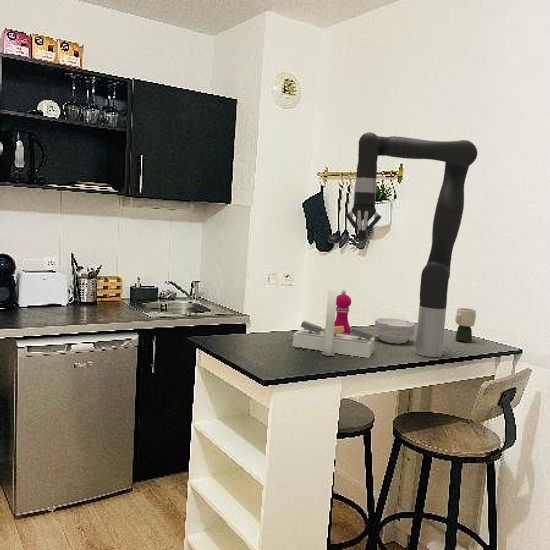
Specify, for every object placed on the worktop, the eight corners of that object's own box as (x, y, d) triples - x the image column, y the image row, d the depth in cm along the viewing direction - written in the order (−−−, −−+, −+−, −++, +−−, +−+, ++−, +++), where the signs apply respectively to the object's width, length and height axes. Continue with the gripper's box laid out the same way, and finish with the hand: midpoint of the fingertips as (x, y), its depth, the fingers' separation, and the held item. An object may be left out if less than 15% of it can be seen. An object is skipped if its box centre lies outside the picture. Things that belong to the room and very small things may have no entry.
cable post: (335, 354, 192) (340, 291, 189) (332, 357, 187) (337, 293, 185) (323, 353, 193) (327, 290, 190) (320, 355, 189) (324, 291, 186)
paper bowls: (421, 345, 214) (423, 324, 213) (387, 346, 208) (389, 325, 207) (398, 335, 227) (400, 316, 227) (366, 337, 222) (367, 317, 221)
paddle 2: (370, 338, 195) (372, 333, 195) (369, 340, 192) (371, 335, 192) (351, 331, 197) (353, 326, 196) (350, 333, 194) (351, 328, 194)
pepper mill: (343, 346, 204) (347, 292, 202) (326, 342, 208) (330, 289, 206) (353, 343, 210) (357, 290, 207) (336, 339, 214) (340, 288, 212)
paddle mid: (344, 330, 198) (343, 325, 198) (342, 332, 195) (341, 327, 195) (325, 332, 200) (324, 327, 200) (323, 334, 197) (322, 329, 197)
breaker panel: (373, 351, 199) (374, 336, 198) (368, 358, 189) (370, 342, 188) (301, 341, 208) (302, 326, 207) (292, 348, 197) (293, 332, 196)
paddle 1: (320, 332, 200) (322, 327, 200) (318, 333, 198) (320, 328, 197) (302, 325, 202) (304, 320, 202) (300, 326, 200) (302, 322, 199)
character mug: (465, 338, 230) (469, 307, 229) (479, 342, 224) (483, 310, 223) (447, 340, 225) (450, 308, 224) (460, 344, 219) (463, 311, 217)
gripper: (385, 192, 197) (381, 241, 199) (348, 191, 201) (345, 239, 203) (382, 191, 190) (378, 242, 192) (344, 190, 194) (341, 240, 196)
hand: (361, 240), depth 198 cm, fingers closed
